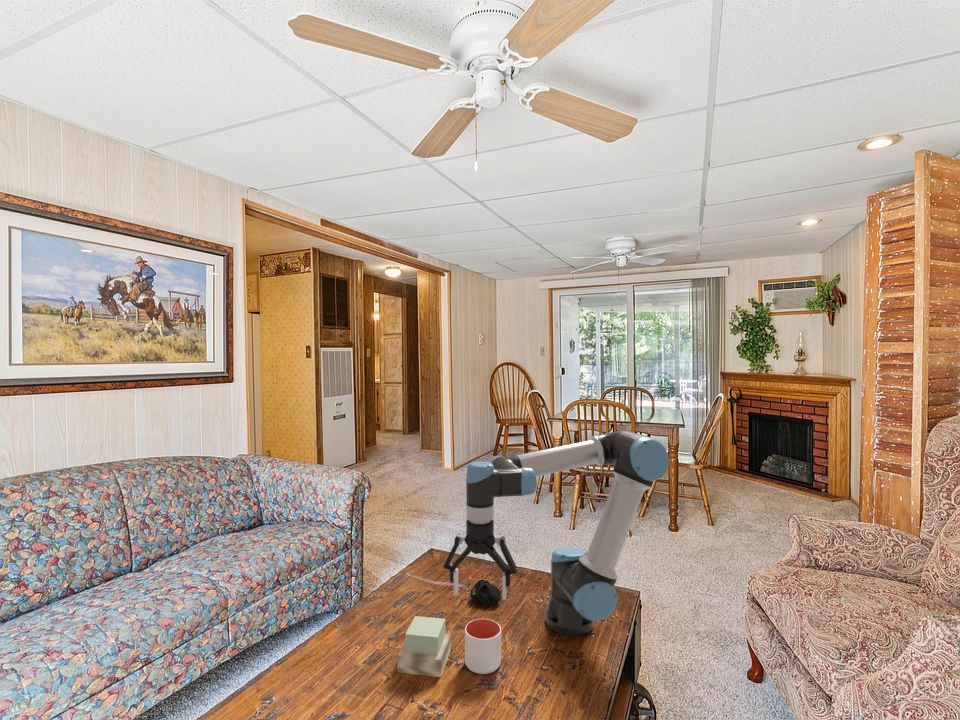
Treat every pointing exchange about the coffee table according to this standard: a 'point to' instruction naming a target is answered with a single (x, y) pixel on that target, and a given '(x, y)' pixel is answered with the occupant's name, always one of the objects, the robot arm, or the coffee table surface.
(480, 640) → the cup
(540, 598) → the coffee table surface
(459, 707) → the coffee table surface
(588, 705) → the coffee table surface
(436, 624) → the tower top
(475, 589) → the rock
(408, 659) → the tower base
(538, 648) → the coffee table surface
